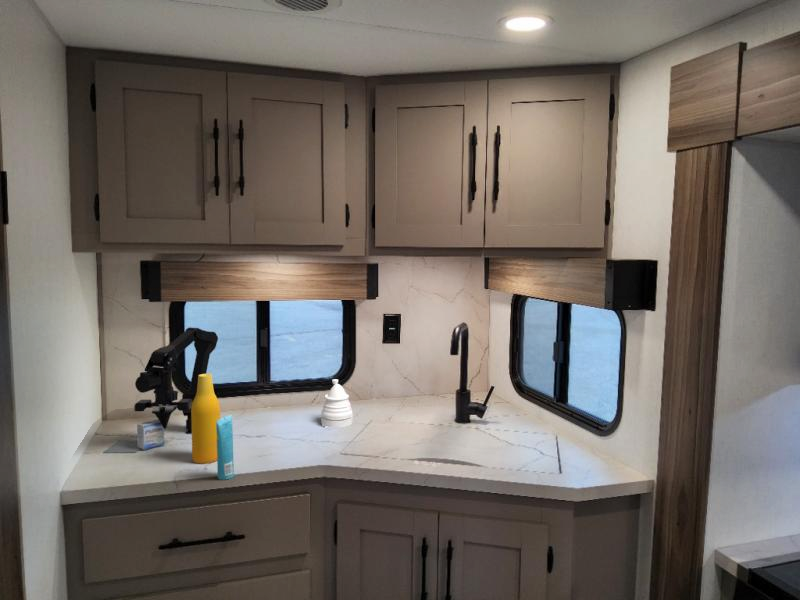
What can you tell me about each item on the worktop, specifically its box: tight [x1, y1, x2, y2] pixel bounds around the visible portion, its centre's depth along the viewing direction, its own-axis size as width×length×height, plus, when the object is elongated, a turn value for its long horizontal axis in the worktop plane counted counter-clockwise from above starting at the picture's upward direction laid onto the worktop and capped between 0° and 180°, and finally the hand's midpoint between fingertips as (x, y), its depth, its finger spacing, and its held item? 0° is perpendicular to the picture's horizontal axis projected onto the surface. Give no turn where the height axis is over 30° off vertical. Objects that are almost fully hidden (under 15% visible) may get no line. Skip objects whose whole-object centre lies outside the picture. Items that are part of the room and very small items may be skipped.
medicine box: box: [136, 419, 165, 451], centre depth 199 cm, size 8×4×9 cm, turn 143°
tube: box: [216, 413, 235, 481], centre depth 173 cm, size 7×5×19 cm, turn 167°
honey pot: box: [320, 378, 354, 427], centre depth 227 cm, size 13×13×18 cm
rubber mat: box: [102, 439, 141, 454], centre depth 199 cm, size 11×12×1 cm
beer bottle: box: [191, 373, 221, 465], centre depth 187 cm, size 9×9×29 cm
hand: (165, 428), depth 199 cm, fingers closed
